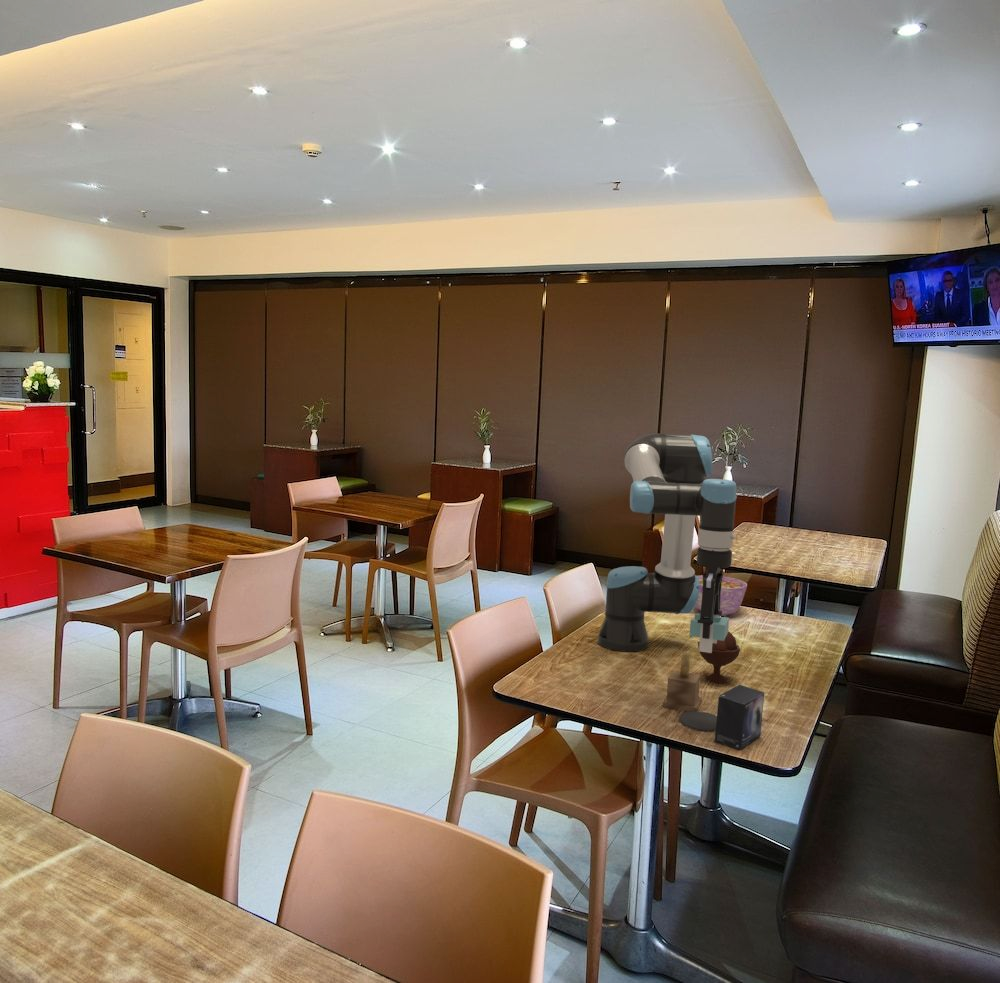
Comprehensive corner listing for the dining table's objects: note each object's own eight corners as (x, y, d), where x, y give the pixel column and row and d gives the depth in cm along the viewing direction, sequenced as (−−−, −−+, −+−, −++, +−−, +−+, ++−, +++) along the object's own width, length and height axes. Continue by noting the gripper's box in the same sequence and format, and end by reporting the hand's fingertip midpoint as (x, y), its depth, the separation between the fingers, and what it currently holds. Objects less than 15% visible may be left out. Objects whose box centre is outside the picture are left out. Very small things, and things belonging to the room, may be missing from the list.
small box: (741, 751, 166) (745, 703, 165) (713, 741, 171) (716, 695, 170) (762, 736, 174) (766, 691, 173) (734, 728, 179) (738, 683, 177)
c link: (689, 635, 177) (690, 620, 177) (694, 627, 184) (695, 613, 184) (723, 640, 174) (724, 625, 174) (728, 632, 181) (729, 617, 181)
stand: (662, 706, 189) (665, 656, 188) (669, 695, 197) (672, 647, 195) (696, 713, 186) (699, 662, 185) (701, 701, 194) (705, 652, 192)
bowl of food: (688, 618, 269) (690, 585, 268) (684, 604, 289) (686, 573, 288) (748, 623, 266) (751, 590, 265) (740, 608, 286) (743, 577, 284)
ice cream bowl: (715, 689, 202) (719, 633, 201) (686, 675, 212) (690, 621, 210) (746, 684, 207) (750, 628, 206) (716, 670, 217) (720, 617, 215)
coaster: (675, 725, 178) (675, 723, 178) (683, 710, 187) (683, 708, 187) (720, 734, 174) (721, 732, 174) (726, 718, 184) (726, 716, 184)
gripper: (726, 557, 166) (718, 662, 169) (737, 543, 185) (730, 638, 187) (690, 553, 169) (683, 656, 172) (704, 540, 188) (698, 633, 190)
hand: (708, 646), depth 179 cm, fingers closed on c link, 7 cm apart
